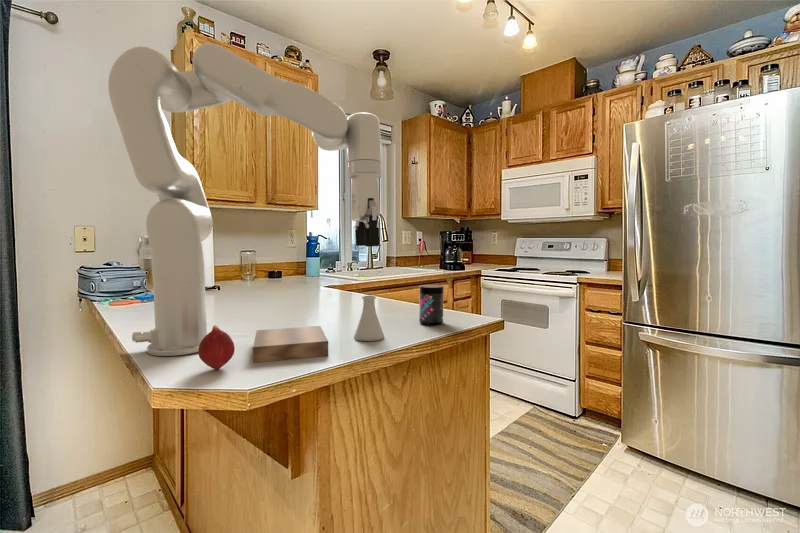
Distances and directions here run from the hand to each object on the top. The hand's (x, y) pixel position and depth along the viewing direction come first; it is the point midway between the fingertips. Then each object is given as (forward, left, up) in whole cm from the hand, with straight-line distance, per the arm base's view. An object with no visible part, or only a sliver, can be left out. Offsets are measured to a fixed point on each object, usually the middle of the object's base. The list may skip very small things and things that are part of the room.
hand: (367, 245), depth 90 cm
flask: (0, 0, -22) cm, 22 cm away
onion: (-31, -13, -22) cm, 40 cm away
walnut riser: (-18, -4, -22) cm, 28 cm away
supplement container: (+20, +10, -22) cm, 31 cm away
